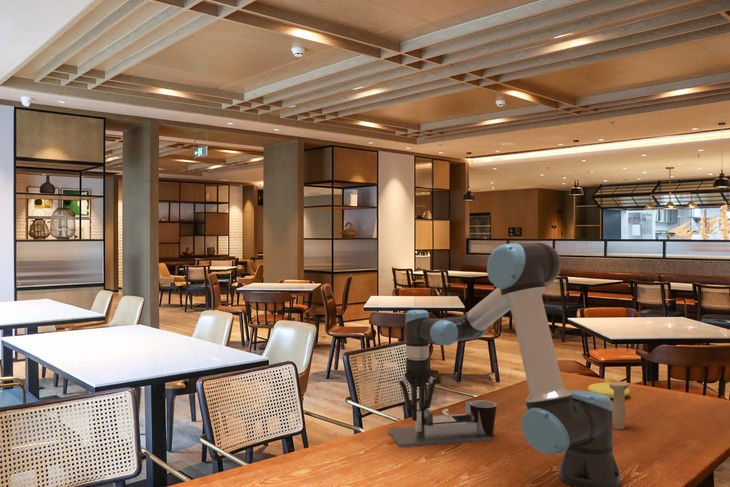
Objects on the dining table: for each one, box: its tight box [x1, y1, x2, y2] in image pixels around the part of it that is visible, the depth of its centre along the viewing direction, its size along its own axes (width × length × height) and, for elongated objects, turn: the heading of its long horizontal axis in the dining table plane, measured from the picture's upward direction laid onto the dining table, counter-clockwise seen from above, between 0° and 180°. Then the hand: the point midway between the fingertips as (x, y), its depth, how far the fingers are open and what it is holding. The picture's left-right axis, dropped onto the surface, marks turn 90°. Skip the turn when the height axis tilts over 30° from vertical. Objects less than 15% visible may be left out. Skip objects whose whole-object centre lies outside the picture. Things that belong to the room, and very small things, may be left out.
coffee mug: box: [470, 399, 498, 438], centre depth 204 cm, size 12×9×10 cm
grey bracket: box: [424, 408, 457, 425], centre depth 205 cm, size 11×9×7 cm
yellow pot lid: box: [587, 377, 631, 399], centre depth 248 cm, size 16×16×7 cm
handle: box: [609, 381, 630, 430], centre depth 207 cm, size 5×6×15 cm
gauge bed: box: [388, 400, 492, 448], centre depth 202 cm, size 16×30×9 cm, turn 100°
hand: (418, 430), depth 201 cm, fingers closed
